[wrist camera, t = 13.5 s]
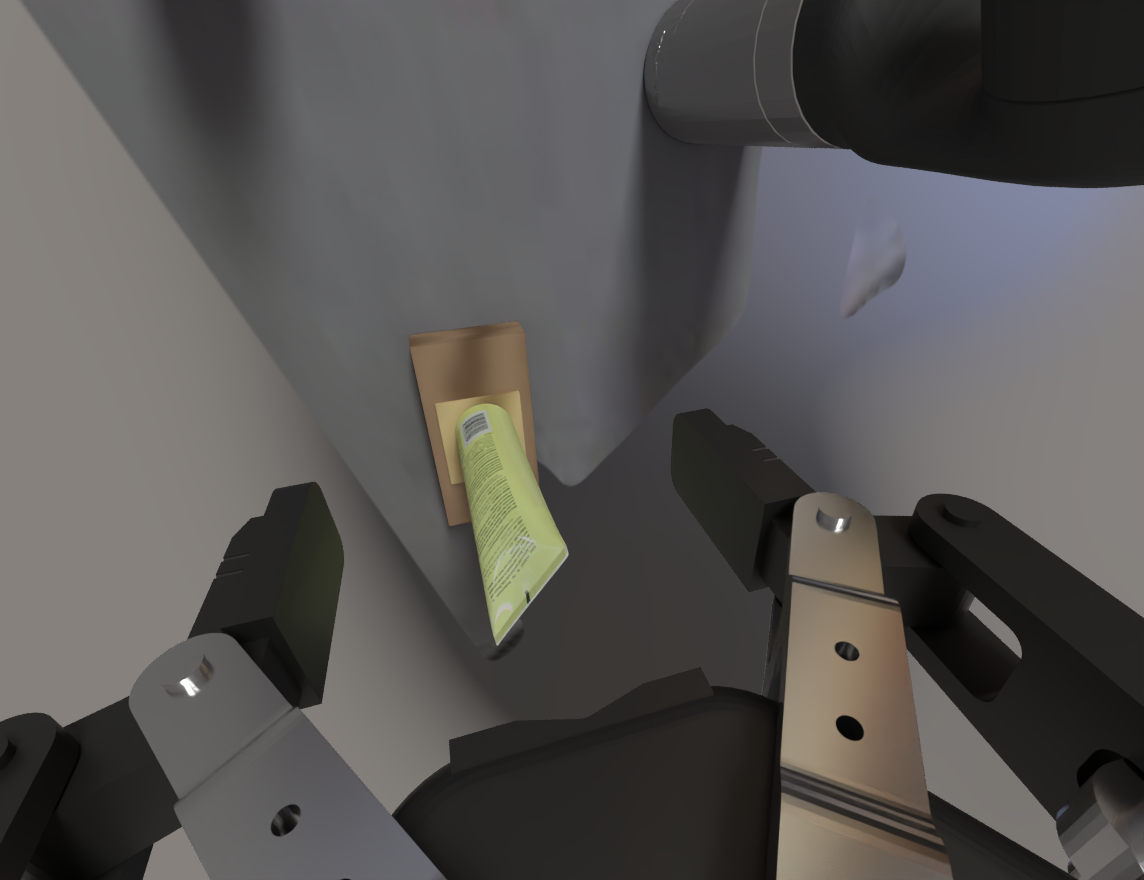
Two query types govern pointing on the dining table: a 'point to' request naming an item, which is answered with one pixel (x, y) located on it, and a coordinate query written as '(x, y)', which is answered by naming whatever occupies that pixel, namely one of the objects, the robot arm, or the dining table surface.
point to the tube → (506, 515)
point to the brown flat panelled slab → (471, 395)
